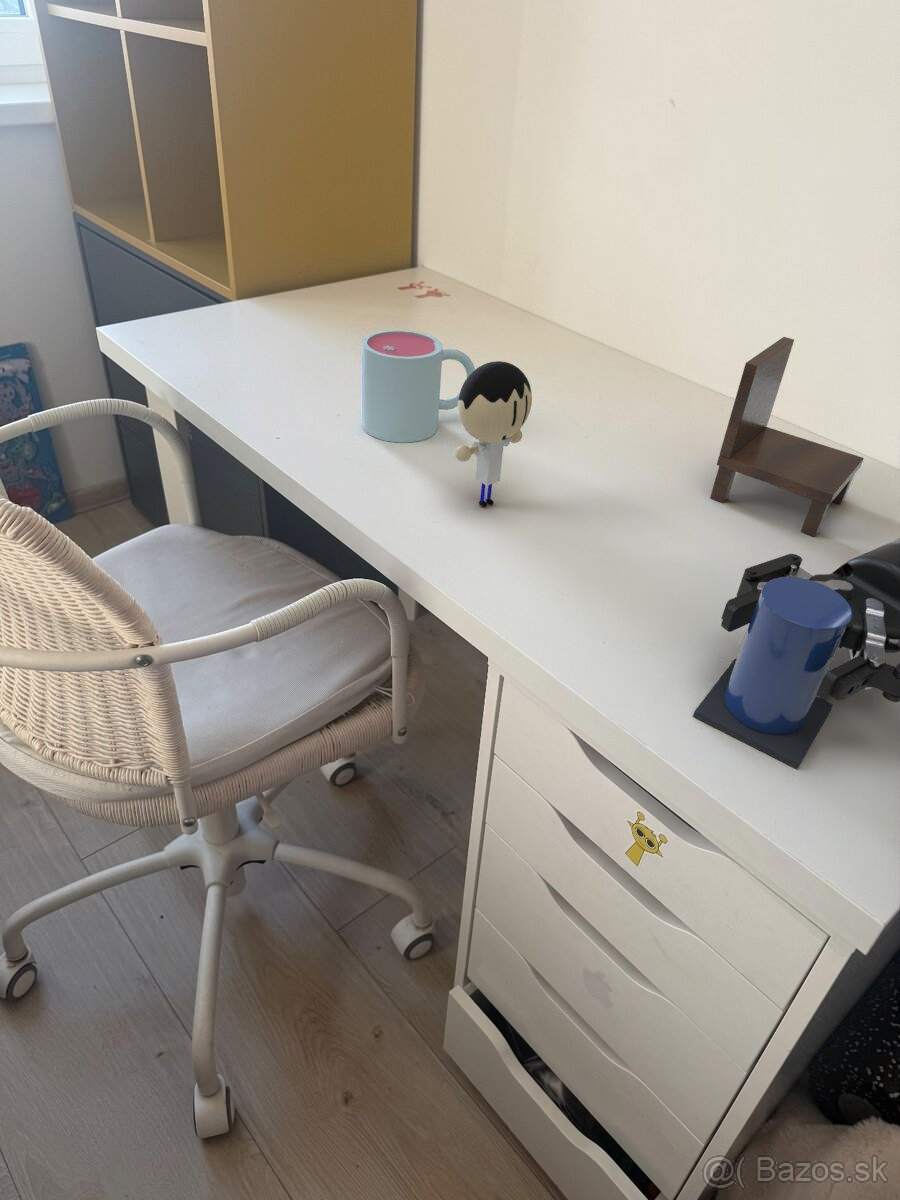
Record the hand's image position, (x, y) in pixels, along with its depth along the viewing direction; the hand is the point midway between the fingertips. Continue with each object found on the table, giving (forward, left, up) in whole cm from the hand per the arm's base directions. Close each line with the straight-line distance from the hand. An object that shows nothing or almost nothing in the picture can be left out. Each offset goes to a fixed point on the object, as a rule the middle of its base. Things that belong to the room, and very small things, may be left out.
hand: (773, 652), depth 58 cm
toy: (+33, -13, -7) cm, 36 cm away
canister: (-1, -2, -6) cm, 7 cm away
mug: (+50, -23, -7) cm, 56 cm away
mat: (-1, -2, -7) cm, 7 cm away
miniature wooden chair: (+10, -36, -7) cm, 38 cm away
